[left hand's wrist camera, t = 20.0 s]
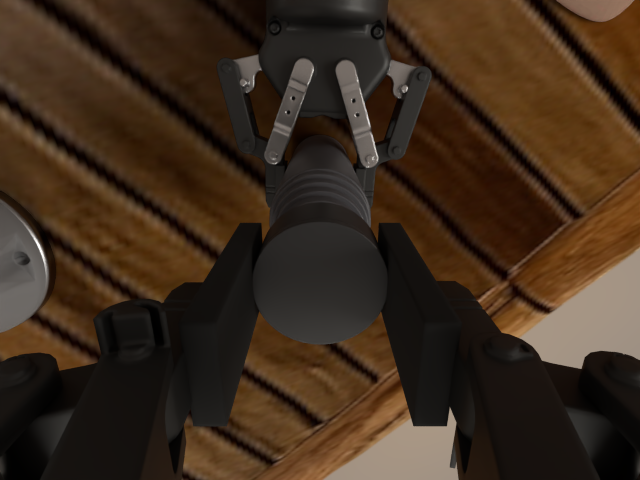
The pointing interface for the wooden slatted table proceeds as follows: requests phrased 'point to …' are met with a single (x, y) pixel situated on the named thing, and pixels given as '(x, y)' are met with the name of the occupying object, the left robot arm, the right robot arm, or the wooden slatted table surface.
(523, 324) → the wooden slatted table surface
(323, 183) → the bottle
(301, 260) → the cap
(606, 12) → the anatomical model
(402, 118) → the right robot arm
